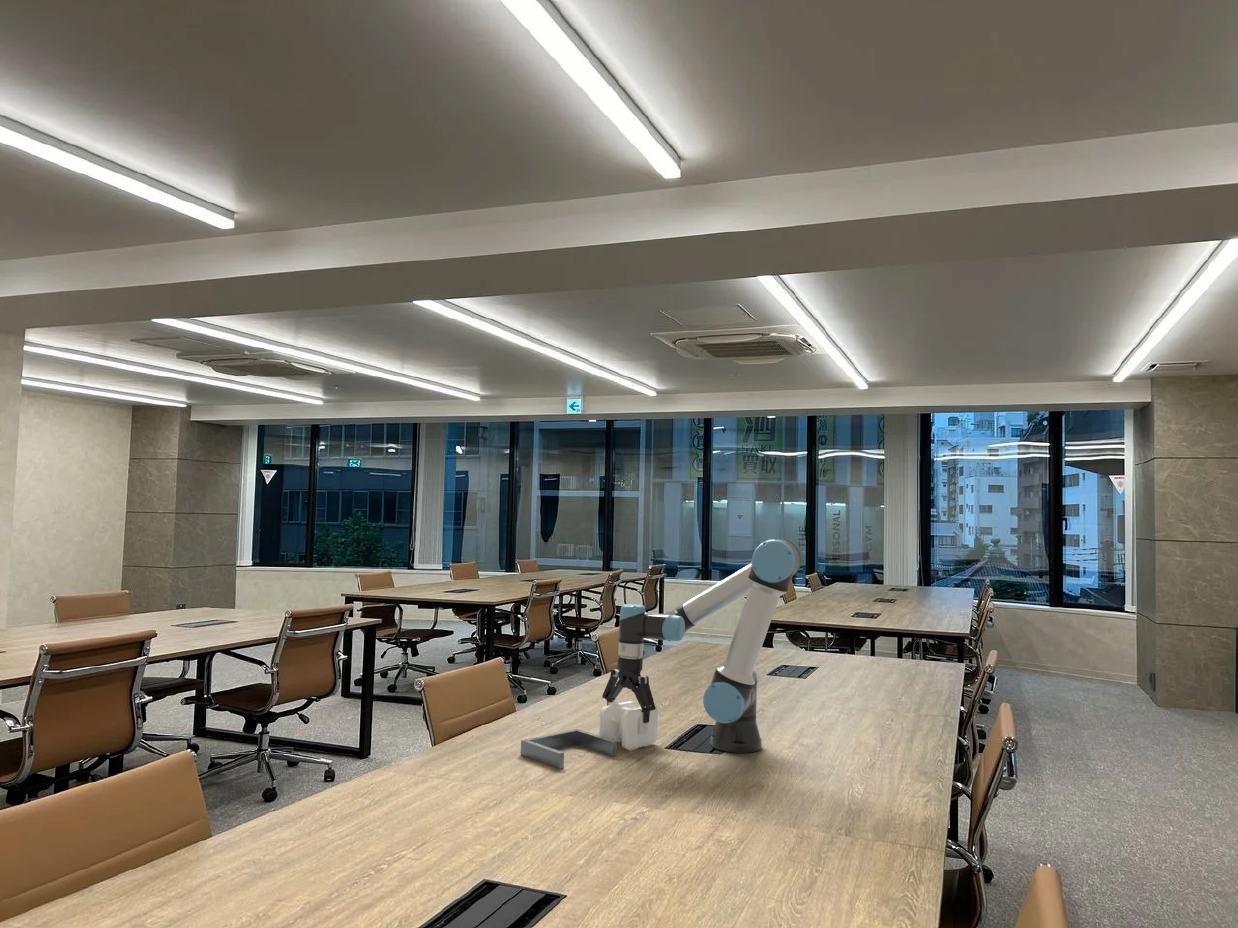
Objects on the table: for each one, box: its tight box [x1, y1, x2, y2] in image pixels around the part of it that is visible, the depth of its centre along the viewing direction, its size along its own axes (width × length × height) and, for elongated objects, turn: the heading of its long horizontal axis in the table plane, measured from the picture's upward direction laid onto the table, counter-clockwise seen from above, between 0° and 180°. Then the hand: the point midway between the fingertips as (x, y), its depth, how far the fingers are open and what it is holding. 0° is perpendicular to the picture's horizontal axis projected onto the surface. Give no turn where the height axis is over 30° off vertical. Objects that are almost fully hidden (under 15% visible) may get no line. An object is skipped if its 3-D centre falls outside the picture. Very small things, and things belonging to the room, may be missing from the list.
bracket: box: [520, 728, 618, 770], centre depth 237 cm, size 17×21×4 cm
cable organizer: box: [598, 700, 659, 752], centre depth 250 cm, size 15×11×12 cm
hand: (626, 728), depth 250 cm, fingers open, 13 cm apart
